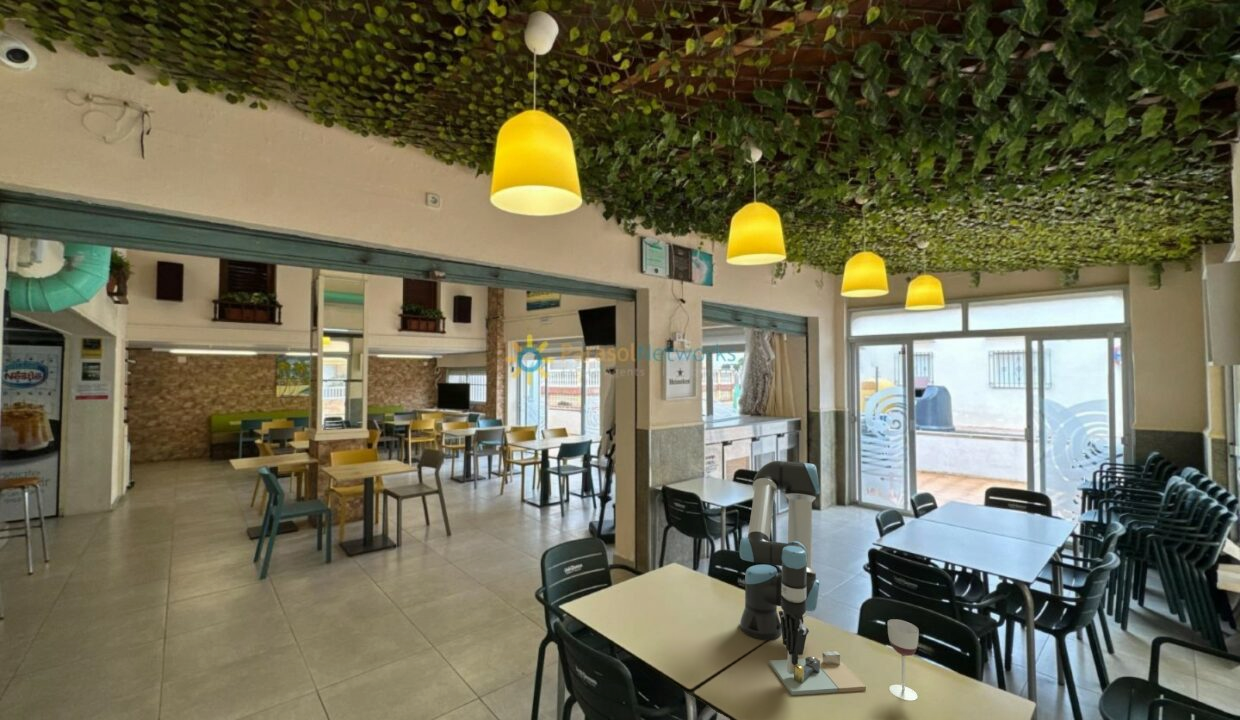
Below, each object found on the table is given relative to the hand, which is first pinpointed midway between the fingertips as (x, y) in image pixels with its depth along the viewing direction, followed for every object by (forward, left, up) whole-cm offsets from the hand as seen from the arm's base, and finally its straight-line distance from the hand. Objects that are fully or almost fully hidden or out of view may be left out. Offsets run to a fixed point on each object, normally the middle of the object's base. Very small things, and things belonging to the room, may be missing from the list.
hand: (792, 672), depth 155 cm
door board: (-1, +9, -3) cm, 9 cm away
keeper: (-6, +17, -1) cm, 18 cm away
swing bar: (-1, +5, -1) cm, 5 cm away
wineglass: (+9, +32, -3) cm, 33 cm away
